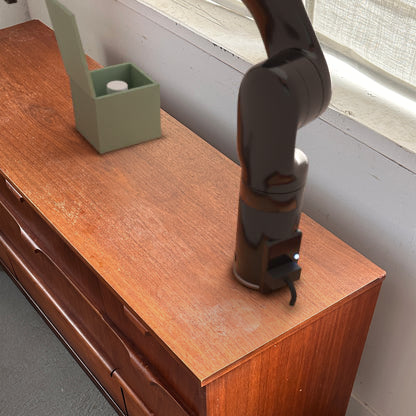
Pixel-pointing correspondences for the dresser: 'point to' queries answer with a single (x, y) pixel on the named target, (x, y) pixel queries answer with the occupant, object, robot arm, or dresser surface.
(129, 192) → the dresser surface
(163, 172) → the dresser surface
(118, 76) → the chest
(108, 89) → the pill bottle
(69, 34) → the lid
